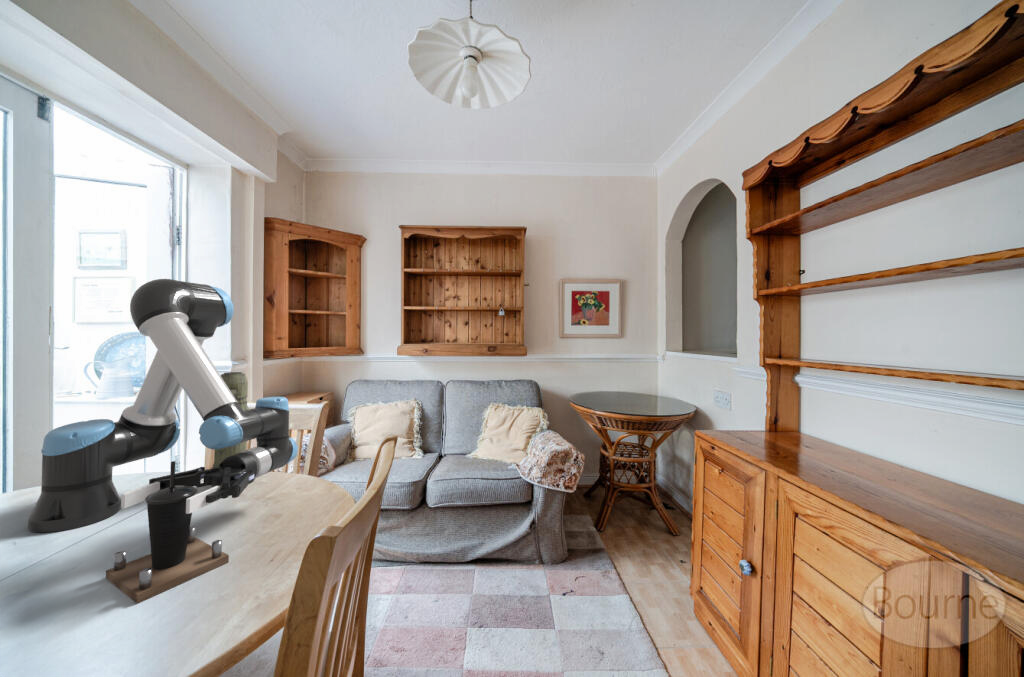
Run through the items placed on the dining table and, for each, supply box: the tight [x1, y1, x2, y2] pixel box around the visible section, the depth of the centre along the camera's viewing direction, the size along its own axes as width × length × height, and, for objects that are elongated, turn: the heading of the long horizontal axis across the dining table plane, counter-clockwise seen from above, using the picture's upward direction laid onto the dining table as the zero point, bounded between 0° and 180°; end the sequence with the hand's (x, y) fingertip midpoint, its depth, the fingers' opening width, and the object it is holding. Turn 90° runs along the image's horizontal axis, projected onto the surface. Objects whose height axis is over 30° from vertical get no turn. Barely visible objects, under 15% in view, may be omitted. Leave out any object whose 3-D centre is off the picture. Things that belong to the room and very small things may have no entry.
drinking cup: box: [144, 460, 198, 570], centre depth 74 cm, size 8×8×20 cm
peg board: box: [105, 525, 230, 605], centre depth 74 cm, size 14×14×4 cm
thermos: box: [211, 371, 250, 489], centre depth 117 cm, size 9×12×35 cm
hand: (154, 503), depth 71 cm, fingers open, 13 cm apart
